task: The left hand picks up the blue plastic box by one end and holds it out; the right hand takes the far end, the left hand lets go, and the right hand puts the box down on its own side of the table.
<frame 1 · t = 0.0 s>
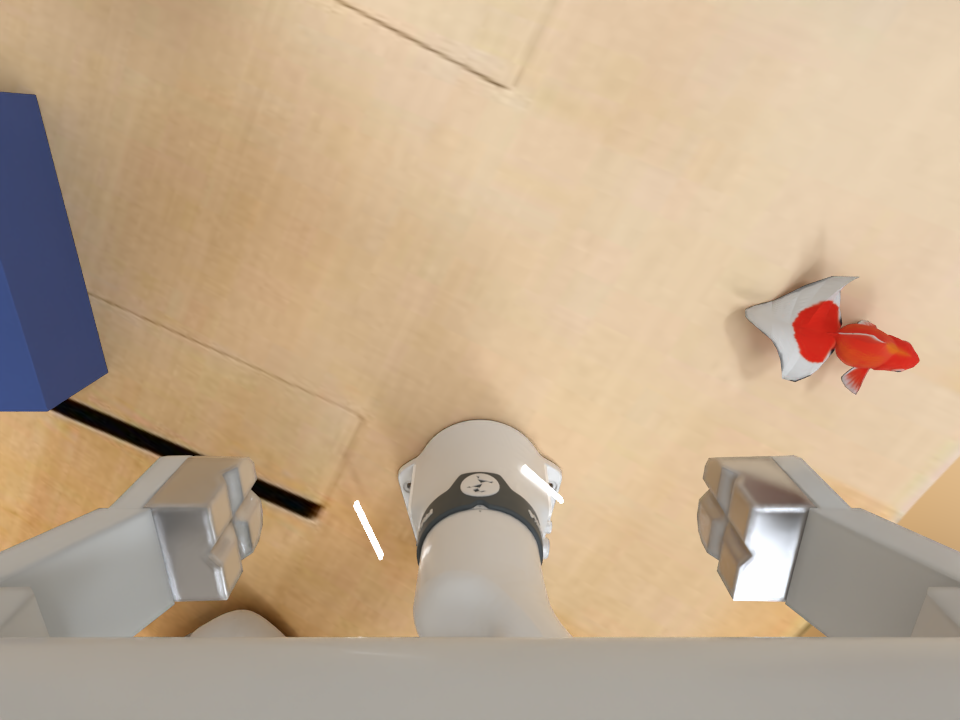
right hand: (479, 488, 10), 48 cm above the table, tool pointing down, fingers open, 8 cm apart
box: (44, 246, 57), on the table
fish: (805, 325, 60), on the table
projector: (265, 662, 77), on the table
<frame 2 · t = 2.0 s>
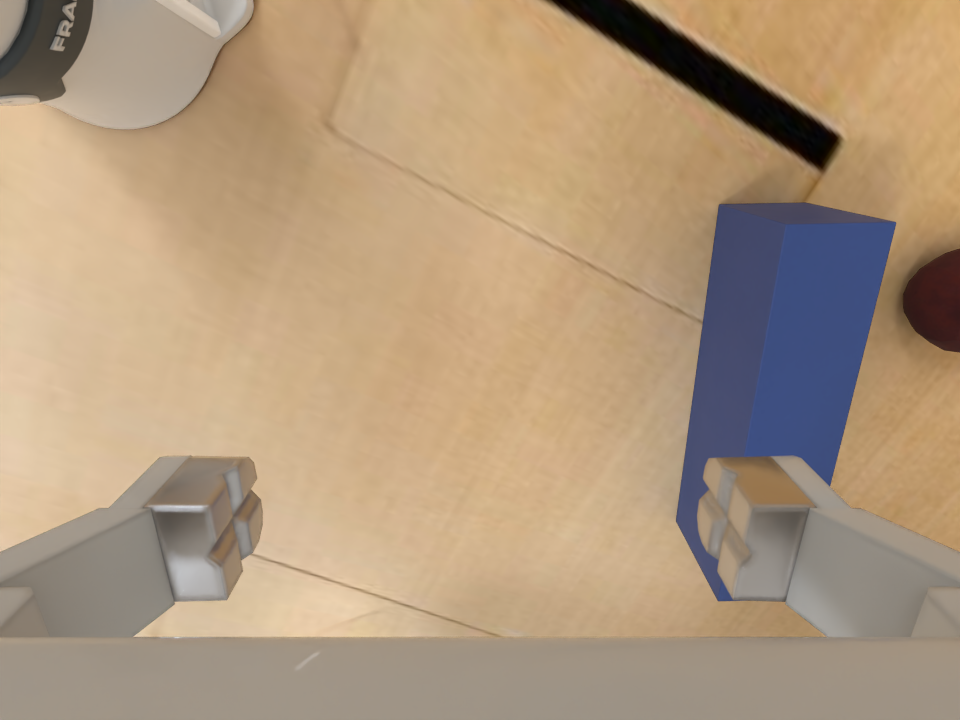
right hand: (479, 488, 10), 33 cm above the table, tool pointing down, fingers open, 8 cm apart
box: (733, 379, 45), on the table
potato: (931, 286, 43), on the table
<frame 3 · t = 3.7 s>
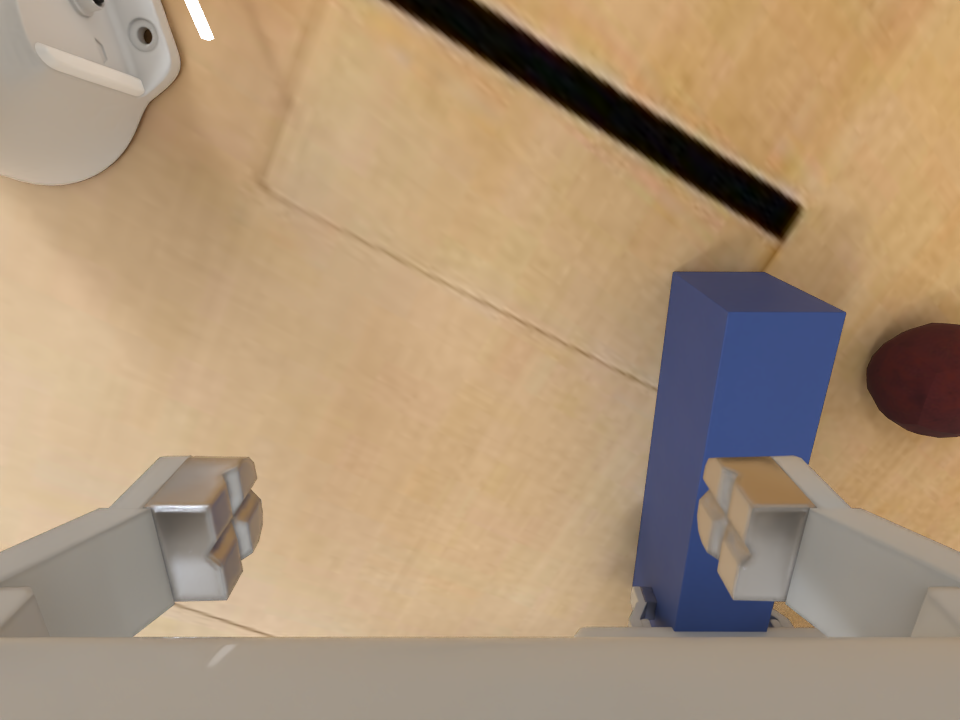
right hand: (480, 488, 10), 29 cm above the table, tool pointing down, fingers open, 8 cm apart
box: (690, 447, 43), on the table, touching left hand
potato: (898, 359, 41), on the table
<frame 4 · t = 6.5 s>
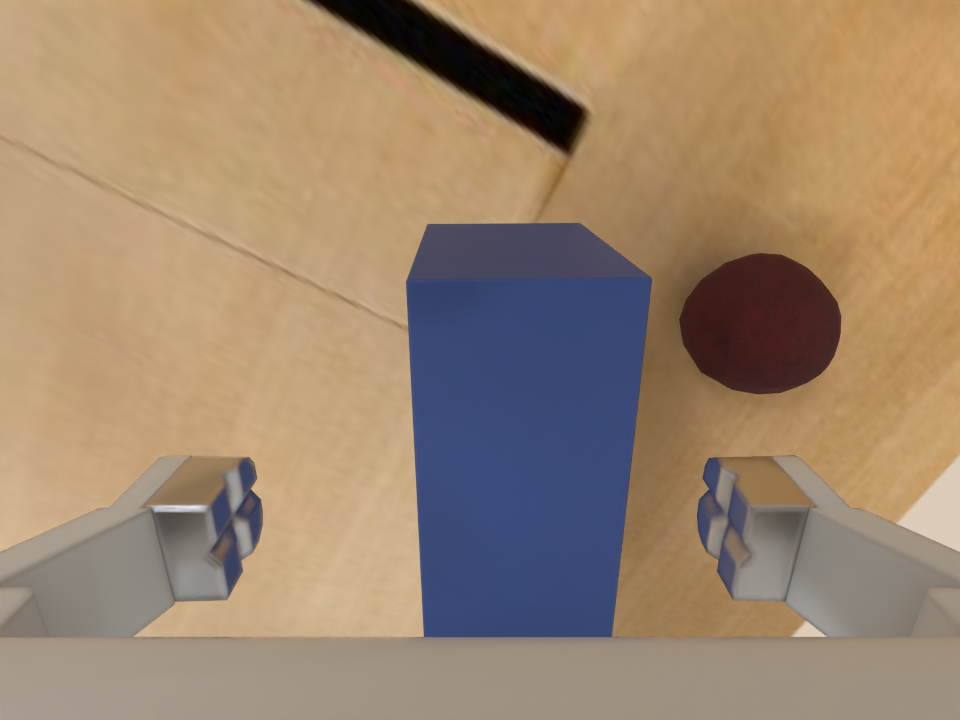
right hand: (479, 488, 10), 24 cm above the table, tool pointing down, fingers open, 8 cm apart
box: (500, 506, 28), point 9 cm above the table, touching left hand
potato: (727, 304, 34), on the table
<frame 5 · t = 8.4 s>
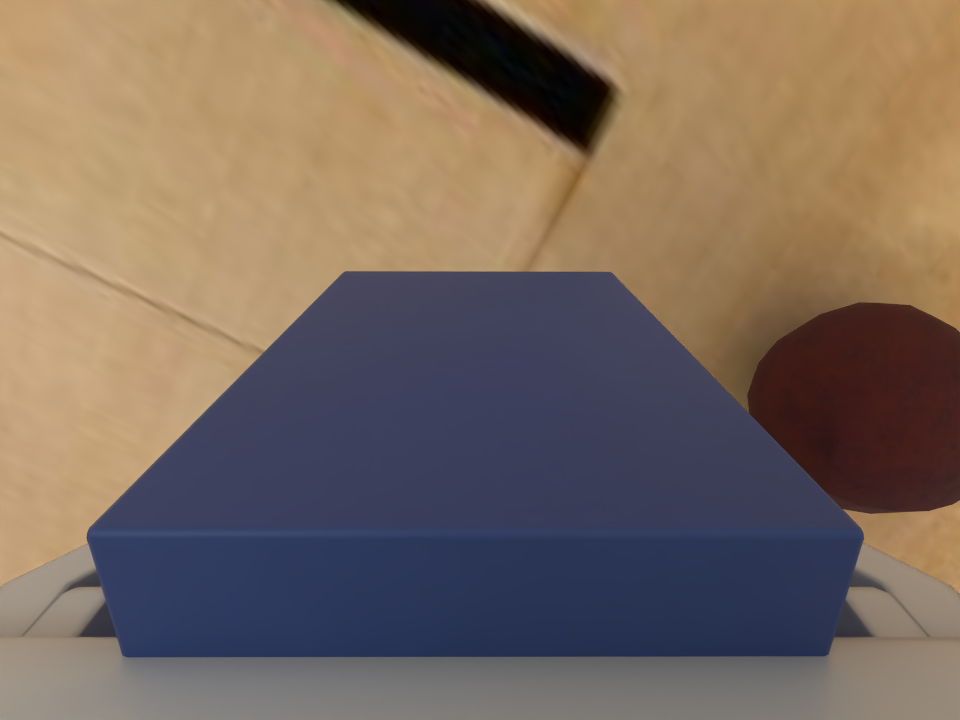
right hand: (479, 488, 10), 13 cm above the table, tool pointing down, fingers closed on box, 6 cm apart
box: (477, 694, 18), point 9 cm above the table, touching right hand, left hand
potato: (811, 367, 24), on the table
when the left hand's fingers open (13 cm above the table, at t = 9.6 s): box moves 2 cm, held by the right hand.
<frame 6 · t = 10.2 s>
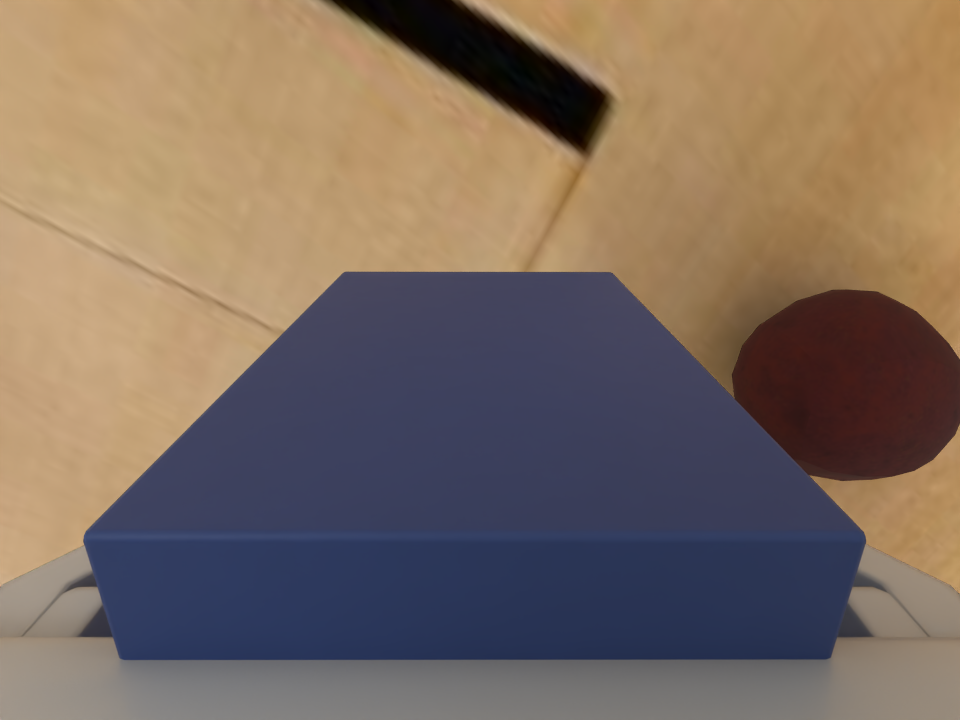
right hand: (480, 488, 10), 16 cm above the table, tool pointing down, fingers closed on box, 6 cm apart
box: (477, 695, 18), point 11 cm above the table, touching right hand
potato: (792, 351, 26), on the table
when the right hand's fingers open (6 cm above the table, at t = 13.2 s): box stays where it is, on the table.
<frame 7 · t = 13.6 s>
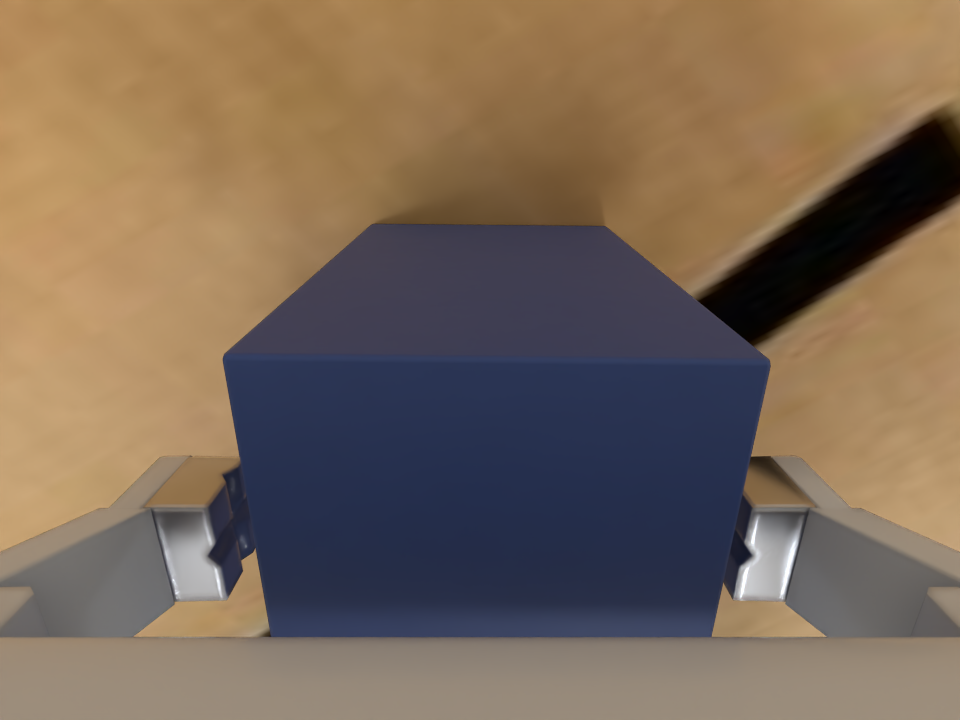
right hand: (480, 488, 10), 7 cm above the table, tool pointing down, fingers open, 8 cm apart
box: (483, 616, 20), on the table
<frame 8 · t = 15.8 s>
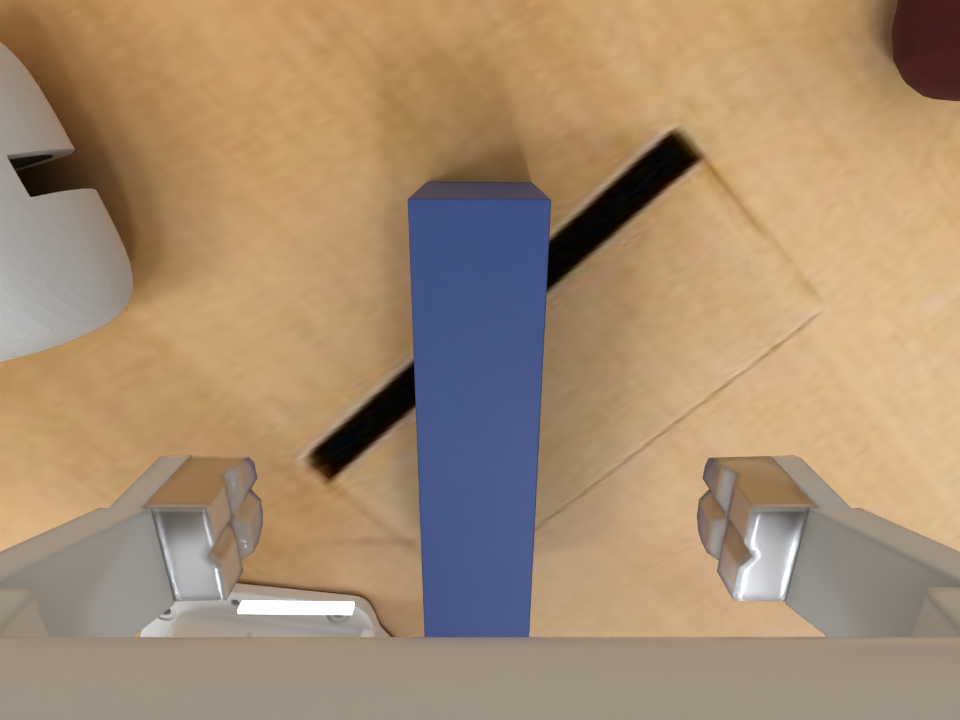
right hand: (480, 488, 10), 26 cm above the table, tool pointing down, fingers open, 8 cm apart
box: (478, 394, 38), on the table
potato: (929, 25, 30), on the table
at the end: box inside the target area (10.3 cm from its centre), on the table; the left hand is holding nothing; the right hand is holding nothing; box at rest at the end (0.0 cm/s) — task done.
